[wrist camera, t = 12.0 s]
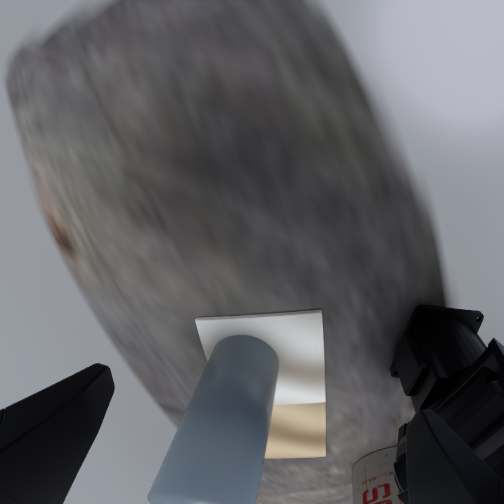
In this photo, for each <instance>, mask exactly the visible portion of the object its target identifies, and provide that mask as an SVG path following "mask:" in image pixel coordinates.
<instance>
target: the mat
mask: <svg viewBox="0 0 504 504" xmlns="http://www.w3.org/2000/svg"><path fill="white" fill-rule="evenodd" d="M195 322H196V326H197V329H198V333H199V336H200V339H201V343H202V346H203V350H204V353H205V356H206V359H207V363H208V360H209V358H210V356H211V354H212V351H213V349H214V347H215V346H216V344H217V343H218V342H220V341H221V340H222V339H224V338H226V337H229V336H233V335H248V336H252V337H255V338H258V339H260V340H262V341H264V342H265V343H267V344H268V345H269V346H270V347H272V349H273V350H274V351H275V353H276V354H277V357H278V360H279V371H278V378H277V384H276V391H275V397H274V404H273V410H272V417H271V423H270V429H269V435H268V441H267V447H266V452H265V458H308V457H325V456H326V398H325V364H324V341H323V323H322V309H320V310H309V311H297V312H285V313H271V314H257V315H240V316H221V317H198V318H196V320H195Z"/></svg>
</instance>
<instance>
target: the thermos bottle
mask: <svg viewBox="0 0 504 504" xmlns="http://www.w3.org/2000/svg"><path fill="white" fill-rule="evenodd" d="M396 451H397V447H391V448H386V449H382V450H379V451H376V452H373V453H371V454H369V455H367V456H365V457H363V458H362V459H360V460H359V461H358V462H357V463H356V464H355V465H354V466H353V468H352V484H353V504H404V503H403V502H402V501H401V500H400V499H399V498H398V494H399V493H401V492H400V491H399V489H398V487H397V485H396V482H395V479H394V469H393V463H394V461H395V459H396Z"/></svg>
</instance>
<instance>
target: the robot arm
mask: <svg viewBox="0 0 504 504" xmlns="http://www.w3.org/2000/svg"><path fill="white" fill-rule="evenodd" d="M421 311H423V313H421V314H419V313H420V312H421ZM477 317H479V318H478V319H477ZM483 318H484V315H483V314H482V313H481V312H480V311H472V310H463V309H454V308H444V307H435V306H426V305H420V306H417V307H416V308H415V310H414V313H413V316H412V318H411V321H410V324H409V326H408V329H407V331H406V332H405V333H404V334H403V337H402V339H401V342H400V344H399V346H398V349H397V351H396V354H395V356H394V362H393V365H392V367H391V369H390V373H391V376H392V377H395V378H400V381H401V384H402V387H403V390H404V393H405V395H406V396H410V397H411V400H412V403H413V406H414V409H415V413H416V414H415V415H414V417H413V418H412V420H411V421H410V422H408V423H407V424H406V423H405V424H404V425H403V426H401V427H400V428H399V434H398V443H397V451H396V459H395V461H394V463H393V469H394V479H395V482H396V485H397V487H398V489H399V491H400V492H401V493H399V494H398V498H399V499H400V500H401V501H402V502H403V503H404V504H504V346H503V345H502V344H500V343H499V342H498V341H497V340H496V339H495V338H493V339H492V340H491V342H490V343H489V344H488V347H486V345H485V344H484V343H483V341H482V340H481V338H480V337H479V336H478V334H477V332H478V330H479V328H480V326H481V323H482V321H483ZM395 371H397V372H395ZM114 388H115V386H114V382H113V378H112V374H111V370H110V368H109V367H108V366H106V365H103V364H100V363H96V364H93V365H92V366H89V367H87V368H85V369H84V370H81V371H79V372H77V373H75V374H73V375H72V376H69V377H67V378H65V379H63V380H61V381H59V382H57V383H55V384H53V385H51V386H49V387H47V388H45V389H43V390H41V391H39V392H37V393H35V394H33V395H31V396H29V397H27V398H25V399H22V400H20V401H18V402H16V403H14V404H12V405H10V406H8V407H6V408H5V409H1V410H0V504H63V502H64V500H65V498H66V496H67V494H68V492H69V490H70V488H71V486H72V484H73V482H74V479H75V478H76V475H77V473H78V471H79V469H80V467H81V465H82V463H83V461H84V459H85V457H86V455H87V454H88V452H89V450H90V448H91V446H92V444H93V442H94V440H95V438H96V436H97V434H98V432H99V429H100V427H101V424H102V422H103V419H104V416H105V414H106V411H107V408H108V406H109V403H110V401H111V398H112V396H113V393H114Z"/></svg>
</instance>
